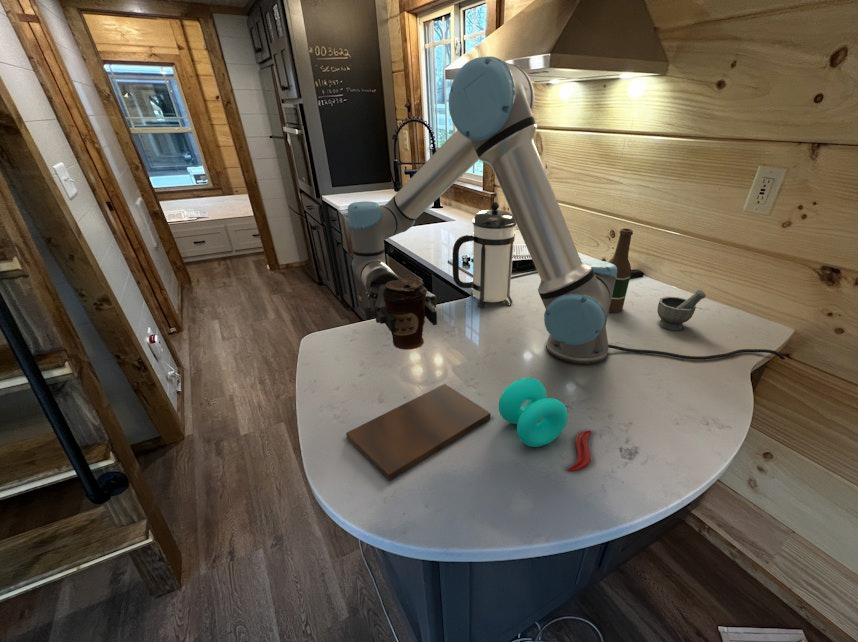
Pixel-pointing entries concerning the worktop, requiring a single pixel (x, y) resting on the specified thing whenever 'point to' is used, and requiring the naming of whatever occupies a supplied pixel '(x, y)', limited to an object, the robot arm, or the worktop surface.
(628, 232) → the beer bottle
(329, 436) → the worktop surface
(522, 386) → the donuts
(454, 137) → the robot arm
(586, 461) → the cayenne pepper
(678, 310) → the mortar and pestle
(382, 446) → the walnut board
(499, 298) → the coffee press
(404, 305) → the coffee cup
